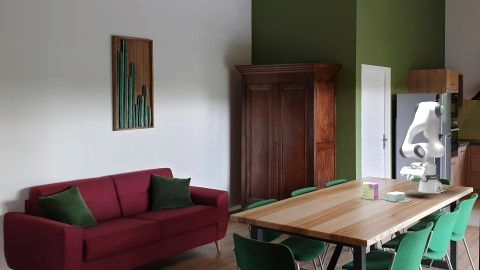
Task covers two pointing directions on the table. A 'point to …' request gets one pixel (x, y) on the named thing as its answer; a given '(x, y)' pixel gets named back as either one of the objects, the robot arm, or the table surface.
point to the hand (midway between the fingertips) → (408, 180)
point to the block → (395, 196)
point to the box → (370, 191)
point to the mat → (398, 201)
